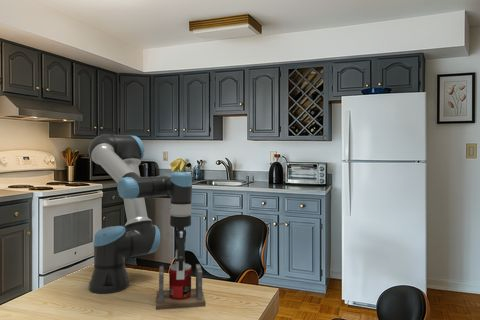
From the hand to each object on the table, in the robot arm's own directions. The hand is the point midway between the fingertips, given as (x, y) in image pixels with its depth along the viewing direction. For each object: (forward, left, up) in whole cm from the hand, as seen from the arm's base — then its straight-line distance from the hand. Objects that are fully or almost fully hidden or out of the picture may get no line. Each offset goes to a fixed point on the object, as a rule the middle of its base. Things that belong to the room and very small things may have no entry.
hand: (179, 273), depth 139 cm
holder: (0, 0, -10) cm, 10 cm away
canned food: (0, 0, -9) cm, 9 cm away
